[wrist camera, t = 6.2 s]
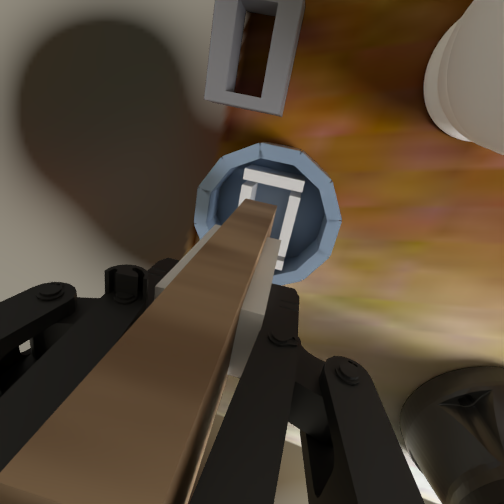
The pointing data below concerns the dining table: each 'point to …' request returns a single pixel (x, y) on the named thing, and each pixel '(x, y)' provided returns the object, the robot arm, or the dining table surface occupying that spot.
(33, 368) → the robot arm
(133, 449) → the brown long rectangular bar
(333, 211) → the candle dish
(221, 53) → the grey slotted block
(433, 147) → the dining table surface
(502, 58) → the jar
